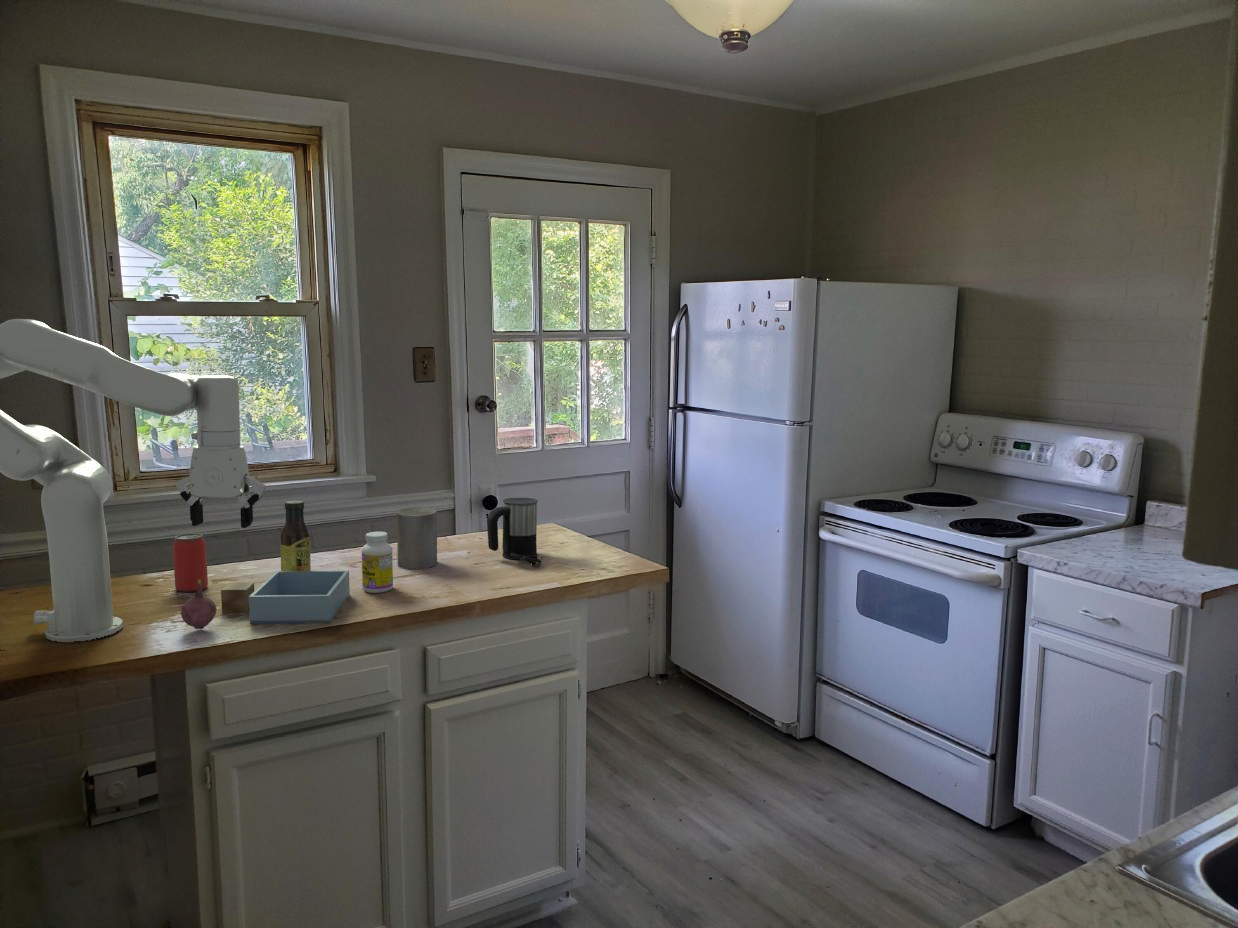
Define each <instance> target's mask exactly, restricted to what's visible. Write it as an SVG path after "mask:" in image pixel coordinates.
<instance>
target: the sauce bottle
mask: <svg viewBox="0 0 1238 928" xmlns="http://www.w3.org/2000/svg"><path fill="white" fill-rule="evenodd" d="M304 509H305V502H304V501H303V500H288V501H285V502H284V510H285V523H284V525H283V526H282V529H281V531H280V548H279V549H280V571H312V568H311V536H310V533H309V531H308V528H307V525H306V523H305V518H304V514H305V513H304Z"/></svg>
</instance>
